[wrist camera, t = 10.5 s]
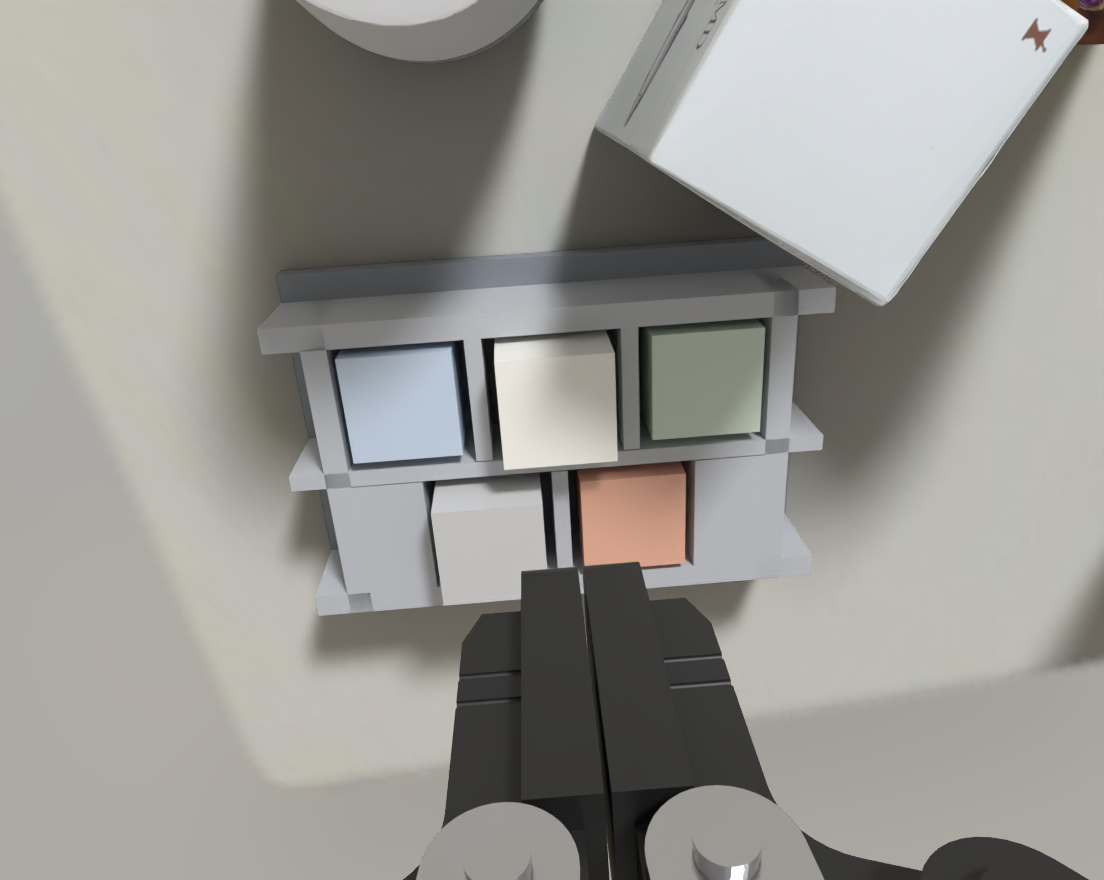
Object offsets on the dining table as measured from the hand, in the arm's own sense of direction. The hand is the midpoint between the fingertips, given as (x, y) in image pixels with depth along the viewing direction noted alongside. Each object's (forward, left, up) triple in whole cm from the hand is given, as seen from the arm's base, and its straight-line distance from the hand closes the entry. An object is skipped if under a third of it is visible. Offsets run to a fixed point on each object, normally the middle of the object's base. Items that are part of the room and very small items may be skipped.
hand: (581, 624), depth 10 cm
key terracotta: (-3, +10, -21) cm, 24 cm away
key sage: (-6, +4, -21) cm, 23 cm away
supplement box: (-8, -6, -23) cm, 25 cm away
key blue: (+5, +4, -21) cm, 22 cm away
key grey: (+2, +10, -20) cm, 22 cm away
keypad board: (-1, +7, -23) cm, 24 cm away
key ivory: (-1, +4, -20) cm, 20 cm away
